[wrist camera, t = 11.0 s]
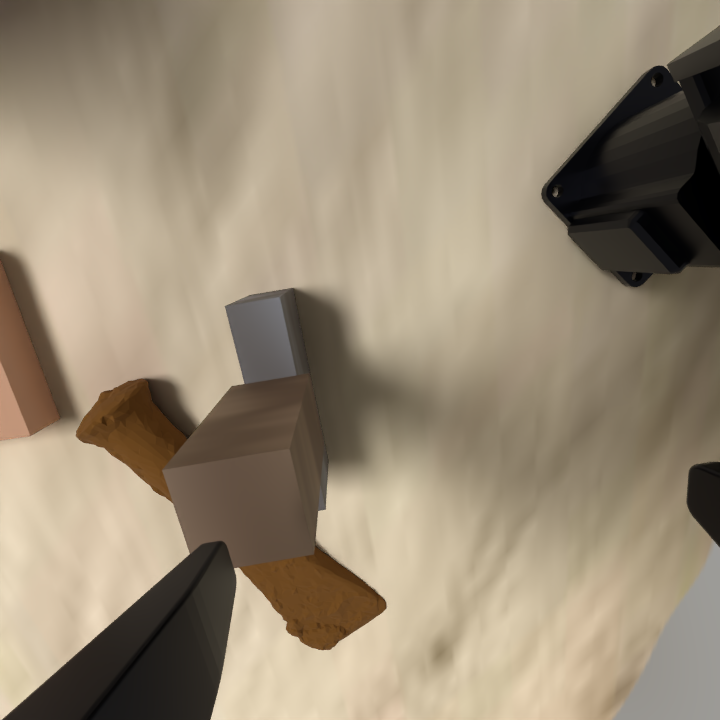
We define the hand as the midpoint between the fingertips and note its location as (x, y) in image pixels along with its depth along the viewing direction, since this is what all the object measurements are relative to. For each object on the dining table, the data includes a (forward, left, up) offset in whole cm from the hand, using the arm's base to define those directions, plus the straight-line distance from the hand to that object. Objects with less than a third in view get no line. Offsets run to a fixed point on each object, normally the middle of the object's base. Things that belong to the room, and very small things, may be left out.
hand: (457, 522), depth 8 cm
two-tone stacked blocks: (+4, -3, -12) cm, 13 cm away
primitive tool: (+11, +1, -13) cm, 17 cm away
